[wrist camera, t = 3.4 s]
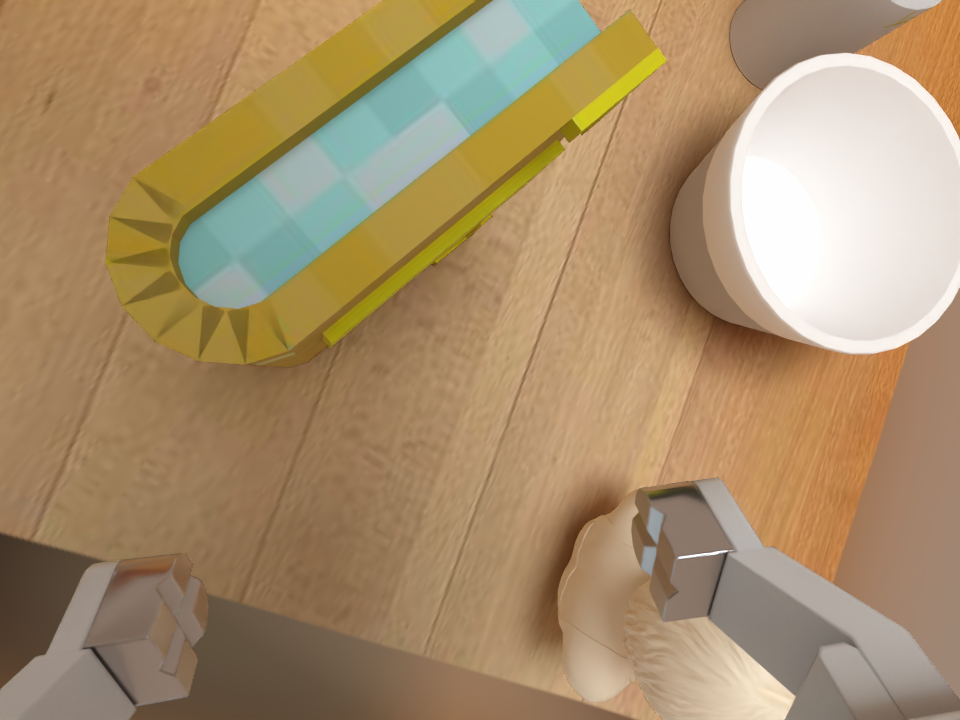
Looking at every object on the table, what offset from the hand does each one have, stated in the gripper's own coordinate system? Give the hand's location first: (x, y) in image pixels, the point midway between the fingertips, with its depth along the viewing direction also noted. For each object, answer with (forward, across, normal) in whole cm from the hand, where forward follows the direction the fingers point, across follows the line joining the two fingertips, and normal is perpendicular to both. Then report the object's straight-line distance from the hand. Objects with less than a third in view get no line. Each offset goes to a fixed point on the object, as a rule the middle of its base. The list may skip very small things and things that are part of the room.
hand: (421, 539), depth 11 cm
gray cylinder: (+45, -31, 0) cm, 55 cm away
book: (+31, +4, +10) cm, 33 cm away
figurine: (+20, -11, +30) cm, 38 cm away
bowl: (+35, -27, +13) cm, 46 cm away
